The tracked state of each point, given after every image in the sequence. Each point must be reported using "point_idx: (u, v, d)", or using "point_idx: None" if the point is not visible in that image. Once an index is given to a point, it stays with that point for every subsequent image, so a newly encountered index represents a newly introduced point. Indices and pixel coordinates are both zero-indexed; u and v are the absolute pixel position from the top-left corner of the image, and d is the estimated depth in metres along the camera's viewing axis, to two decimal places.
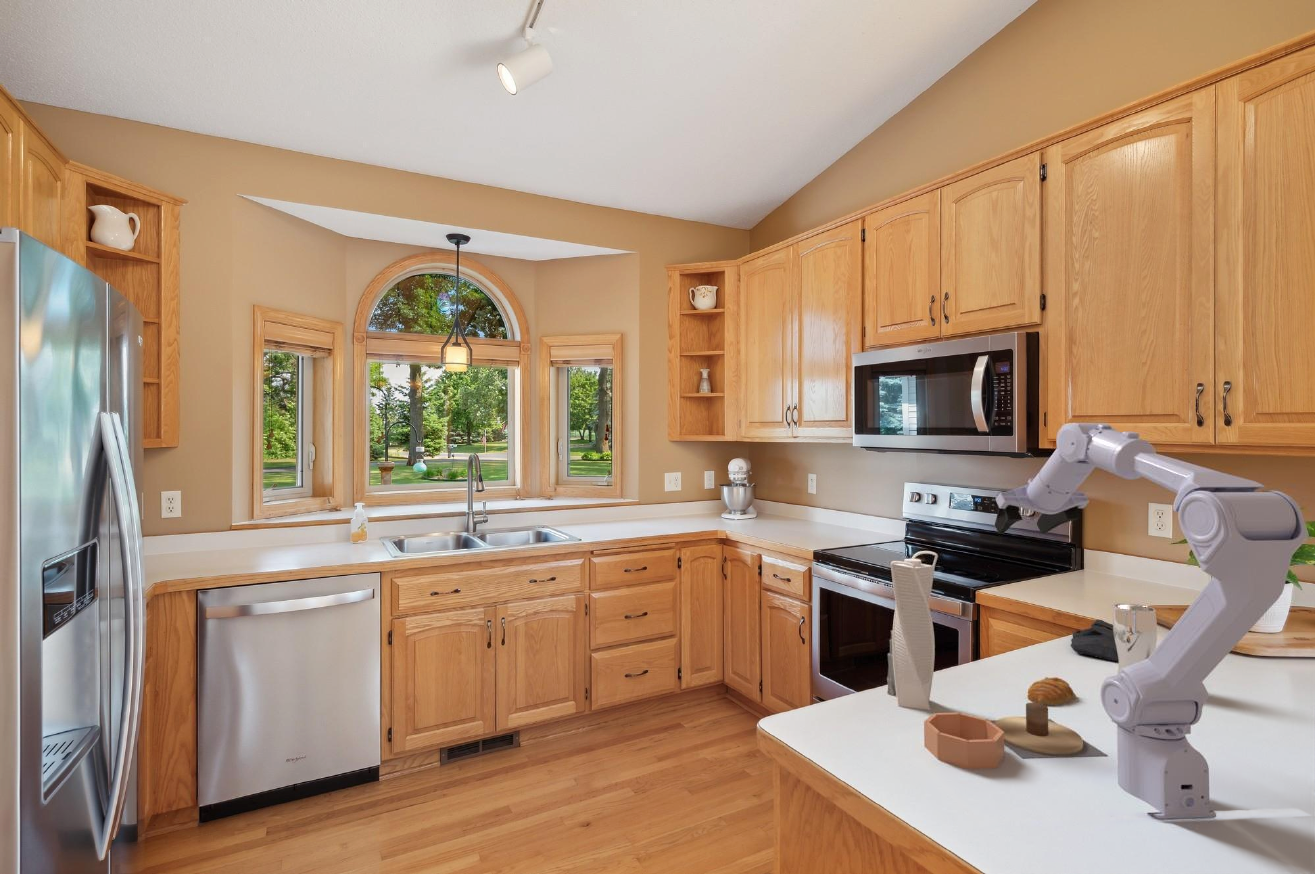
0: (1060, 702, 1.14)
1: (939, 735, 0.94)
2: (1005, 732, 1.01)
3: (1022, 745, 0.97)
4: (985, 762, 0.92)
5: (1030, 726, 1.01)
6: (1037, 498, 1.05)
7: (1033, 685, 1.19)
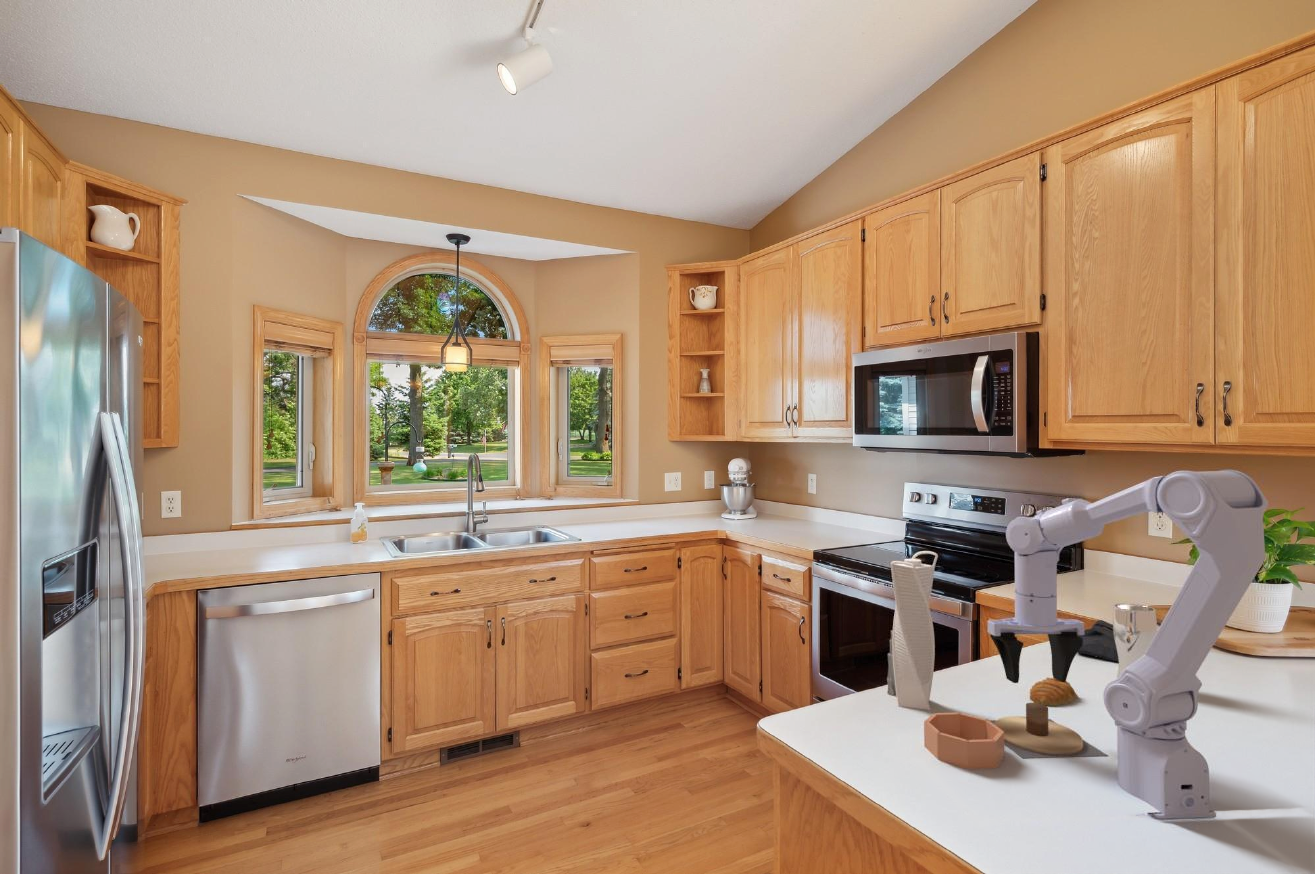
0: (1062, 703, 1.14)
1: (939, 735, 0.94)
2: (1005, 732, 1.01)
3: (1022, 745, 0.97)
4: (985, 762, 0.92)
5: (1030, 726, 1.01)
6: (1025, 615, 1.00)
7: (1035, 686, 1.19)
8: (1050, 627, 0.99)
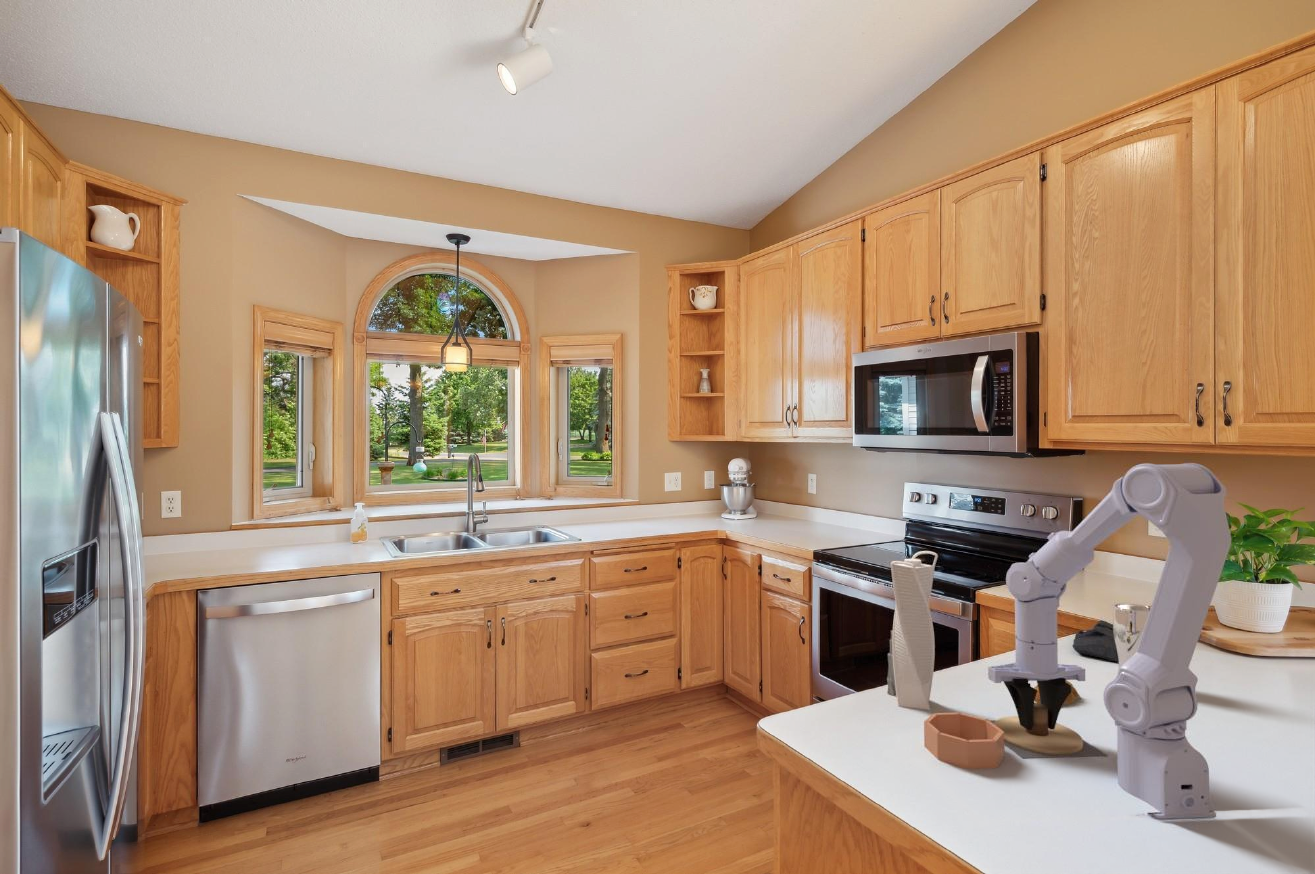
0: (1065, 703, 1.14)
1: (939, 735, 0.94)
2: (1005, 732, 1.01)
3: (1022, 745, 0.97)
4: (985, 762, 0.92)
5: None
6: (1026, 662, 1.00)
7: (1037, 686, 1.19)
8: (1051, 674, 0.99)
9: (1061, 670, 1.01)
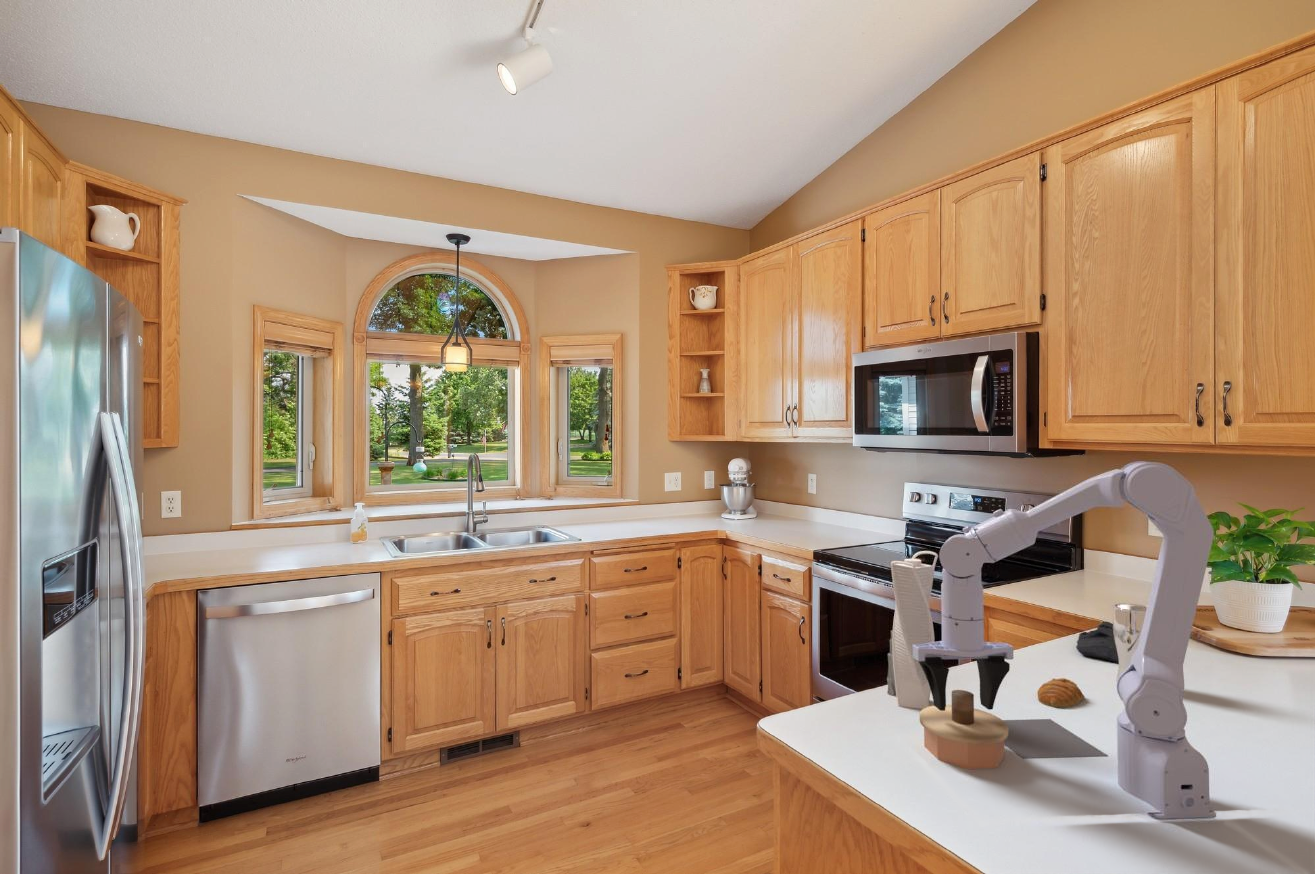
0: (1071, 704, 1.14)
1: None
2: (928, 720, 0.97)
3: (942, 733, 0.93)
4: (985, 762, 0.92)
5: (954, 714, 0.96)
6: (950, 639, 0.96)
7: (1042, 687, 1.18)
8: (976, 652, 0.94)
9: (988, 648, 0.97)
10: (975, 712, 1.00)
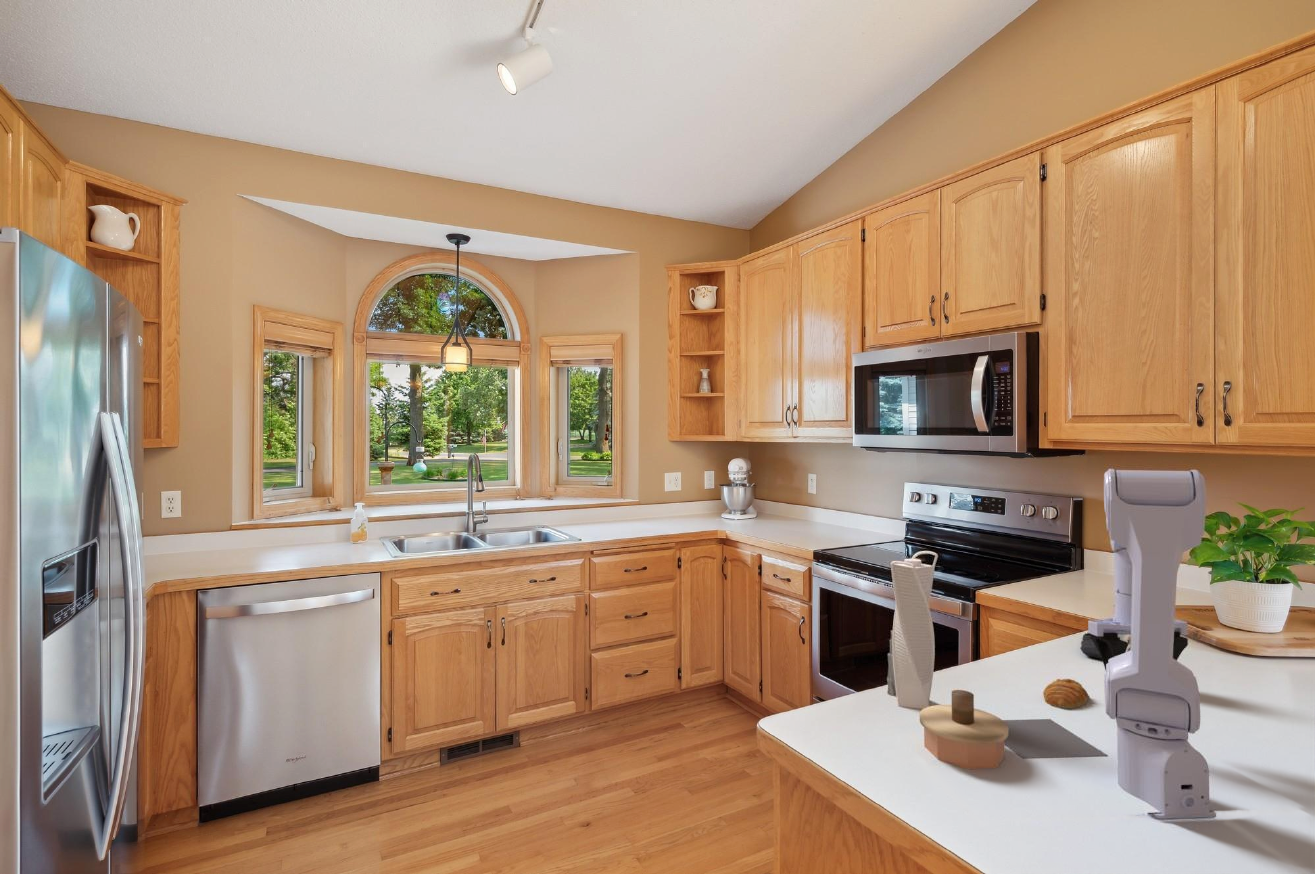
0: (1079, 705, 1.13)
1: None
2: (928, 720, 0.97)
3: (942, 733, 0.93)
4: (985, 762, 0.92)
5: (954, 714, 0.96)
6: (1128, 615, 0.99)
7: (1048, 688, 1.18)
8: None
9: None
10: (975, 712, 1.00)
